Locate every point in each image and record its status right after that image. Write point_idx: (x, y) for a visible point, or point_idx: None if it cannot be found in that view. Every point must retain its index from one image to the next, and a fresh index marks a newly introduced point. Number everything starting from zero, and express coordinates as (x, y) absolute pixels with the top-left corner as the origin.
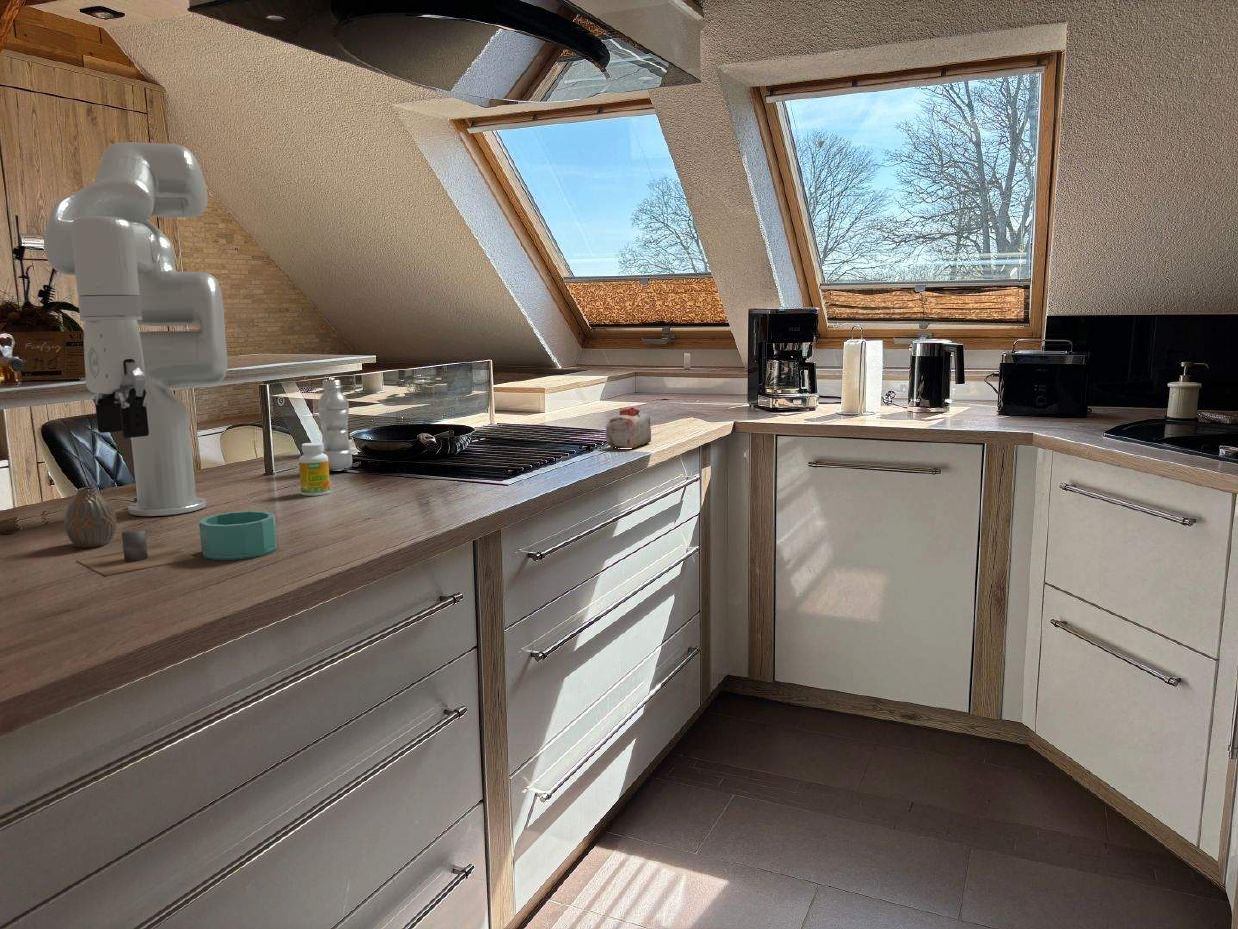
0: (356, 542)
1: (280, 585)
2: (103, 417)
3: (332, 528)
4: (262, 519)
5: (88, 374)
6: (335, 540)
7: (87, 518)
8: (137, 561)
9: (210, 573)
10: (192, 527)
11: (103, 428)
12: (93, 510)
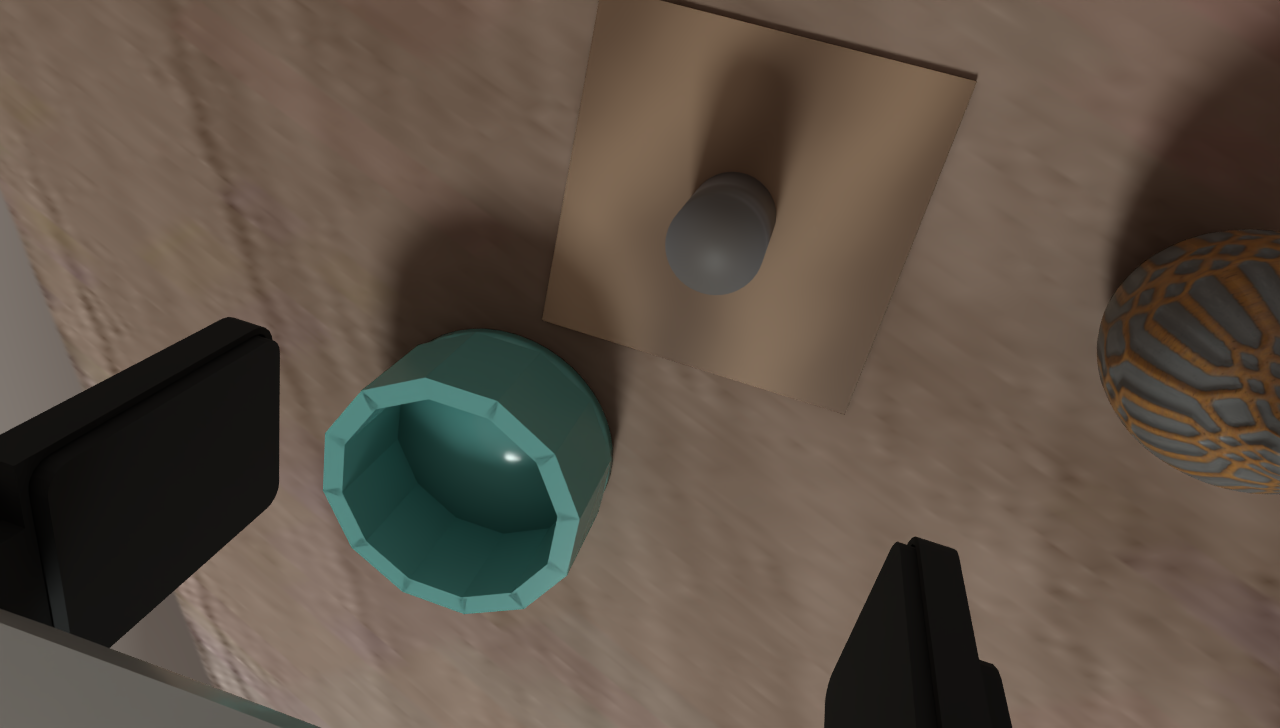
0: (317, 615)
1: (59, 204)
2: (887, 681)
3: (516, 723)
4: (352, 514)
5: None
6: (383, 619)
7: (1169, 301)
8: (687, 189)
9: (328, 205)
10: (999, 646)
11: (891, 582)
12: (1166, 348)
